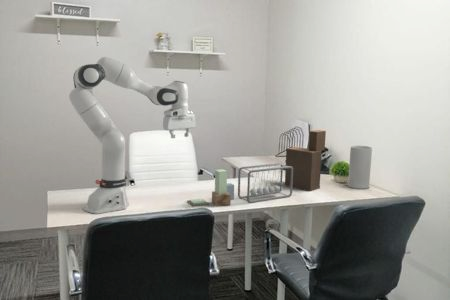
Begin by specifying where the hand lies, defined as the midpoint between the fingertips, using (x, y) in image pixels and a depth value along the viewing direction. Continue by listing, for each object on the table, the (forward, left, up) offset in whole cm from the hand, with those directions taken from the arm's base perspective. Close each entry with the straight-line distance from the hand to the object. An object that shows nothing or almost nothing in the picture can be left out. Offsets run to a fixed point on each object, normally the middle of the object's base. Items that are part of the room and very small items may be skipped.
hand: (179, 137), depth 226 cm
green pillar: (+7, -25, -27) cm, 37 cm away
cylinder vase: (+96, -58, -33) cm, 117 cm away
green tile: (-1, -16, -33) cm, 37 cm away
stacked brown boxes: (+70, -35, -33) cm, 85 cm away
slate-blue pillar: (+17, -21, -33) cm, 43 cm away
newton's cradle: (+34, -34, -33) cm, 58 cm away
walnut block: (+7, -25, -33) cm, 42 cm away
